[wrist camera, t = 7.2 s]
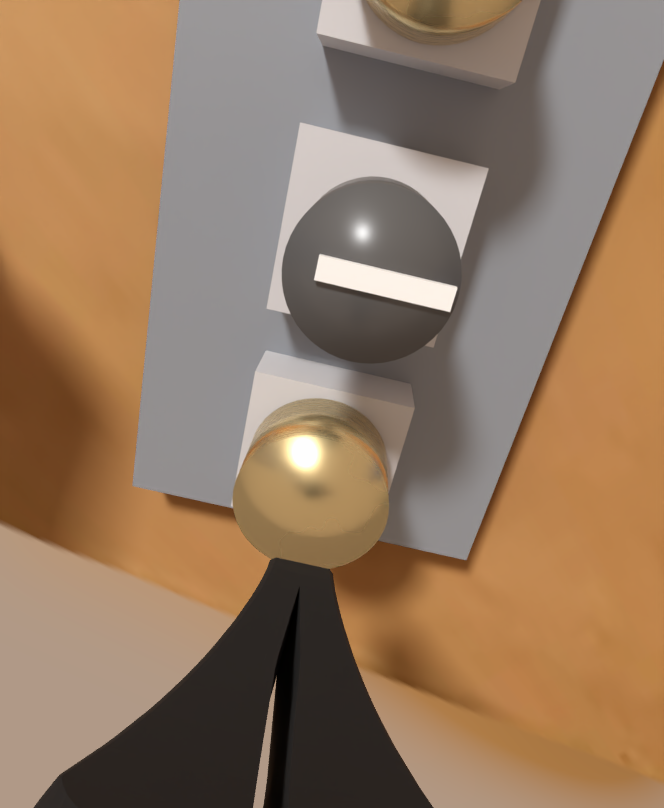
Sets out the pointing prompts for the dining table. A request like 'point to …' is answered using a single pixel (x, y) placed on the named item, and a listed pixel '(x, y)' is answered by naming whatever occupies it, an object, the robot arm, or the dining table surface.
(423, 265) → the pot knob
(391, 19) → the knob
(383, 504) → the knob
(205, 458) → the mount
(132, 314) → the dining table surface
